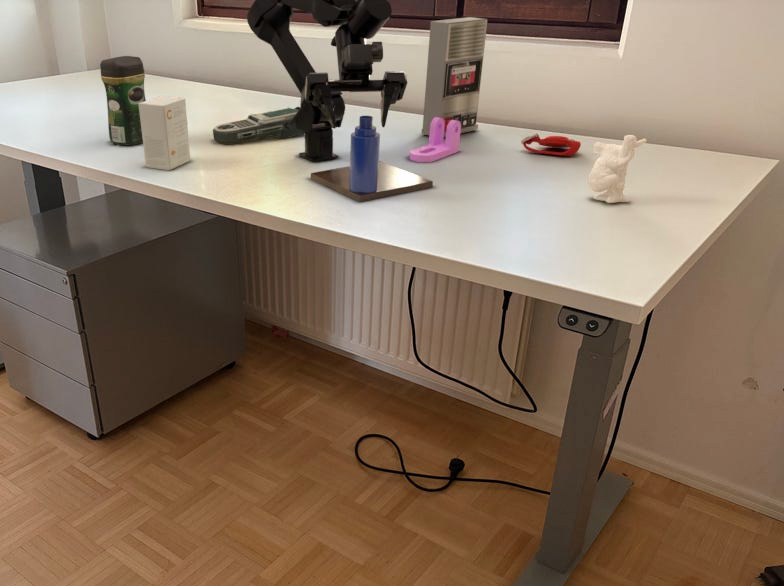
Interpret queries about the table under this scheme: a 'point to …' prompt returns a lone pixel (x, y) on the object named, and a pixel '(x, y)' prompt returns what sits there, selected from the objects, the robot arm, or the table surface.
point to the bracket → (439, 141)
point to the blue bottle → (364, 157)
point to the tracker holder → (553, 144)
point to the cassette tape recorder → (454, 72)
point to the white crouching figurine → (612, 169)
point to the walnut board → (388, 182)
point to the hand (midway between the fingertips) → (359, 126)
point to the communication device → (259, 127)
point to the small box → (164, 132)
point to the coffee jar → (124, 98)
